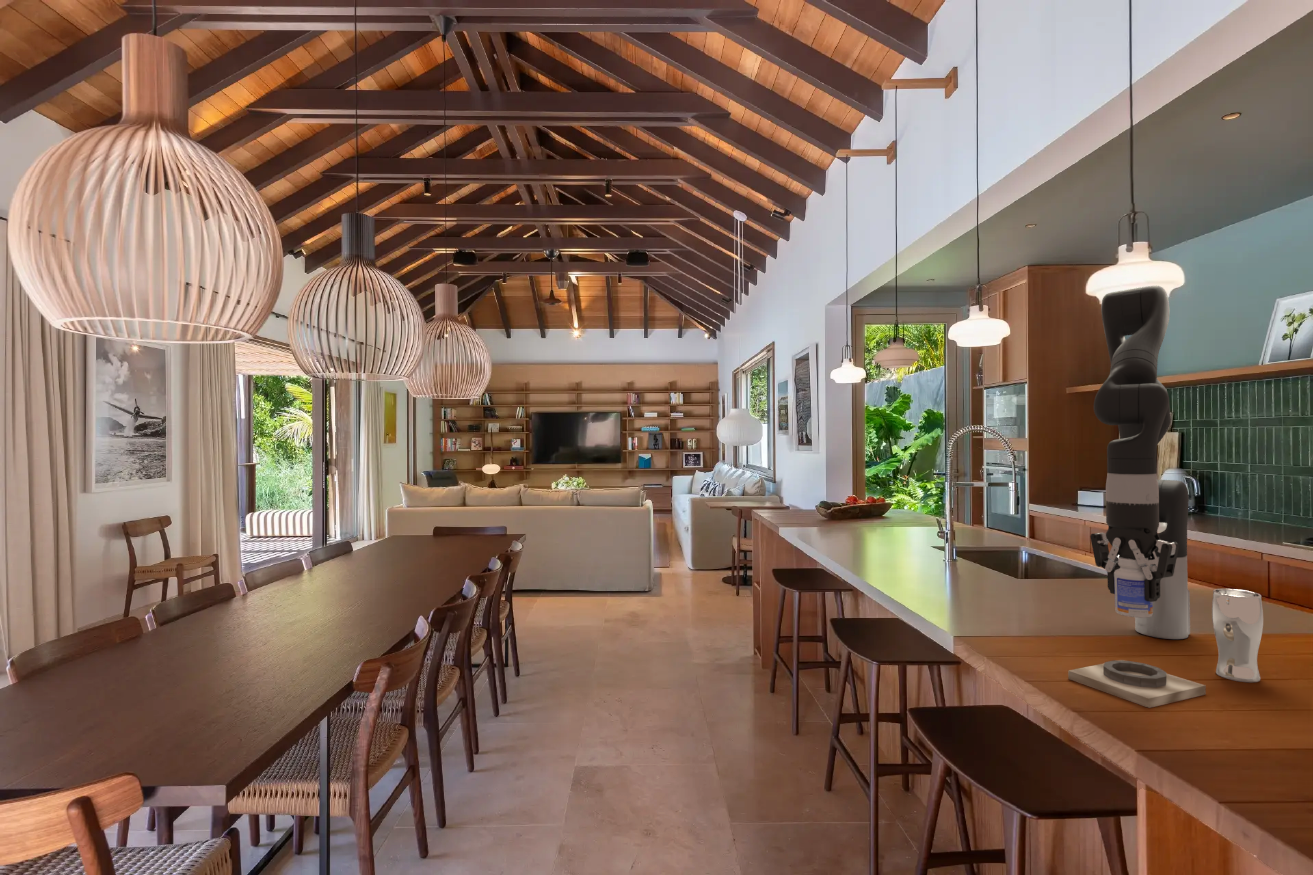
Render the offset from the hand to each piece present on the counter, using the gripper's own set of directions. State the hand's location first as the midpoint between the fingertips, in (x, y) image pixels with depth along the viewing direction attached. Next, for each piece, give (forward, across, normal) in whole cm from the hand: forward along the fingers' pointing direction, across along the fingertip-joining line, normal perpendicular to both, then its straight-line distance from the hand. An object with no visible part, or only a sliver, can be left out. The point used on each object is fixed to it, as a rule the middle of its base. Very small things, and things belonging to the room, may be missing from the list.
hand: (1133, 596), depth 118 cm
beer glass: (+16, -4, -21) cm, 27 cm away
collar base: (+16, 0, 0) cm, 16 cm away
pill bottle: (+3, 0, 0) cm, 3 cm away
